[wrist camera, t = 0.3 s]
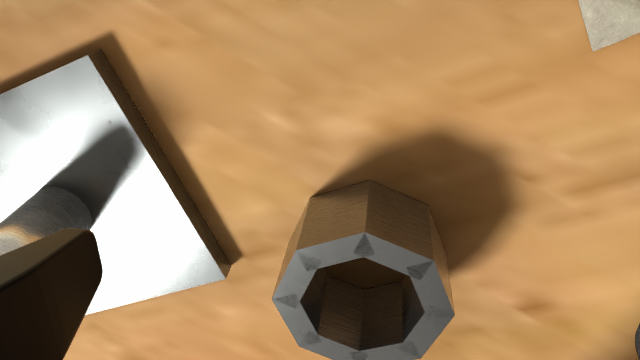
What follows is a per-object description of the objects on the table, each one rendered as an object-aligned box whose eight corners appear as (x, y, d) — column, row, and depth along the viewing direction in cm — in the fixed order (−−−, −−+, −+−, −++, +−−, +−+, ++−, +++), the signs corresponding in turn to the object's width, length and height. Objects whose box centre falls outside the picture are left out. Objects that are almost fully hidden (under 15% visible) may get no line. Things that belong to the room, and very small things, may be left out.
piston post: (231, 265, 26) (182, 378, 20) (54, 312, 30) (-34, 420, 24) (100, 48, 21) (-18, 111, 15) (-94, 136, 25) (-253, 215, 19)
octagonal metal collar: (457, 286, 25) (468, 349, 21) (326, 314, 27) (316, 377, 23) (414, 167, 22) (417, 218, 19) (270, 209, 24) (250, 262, 21)
